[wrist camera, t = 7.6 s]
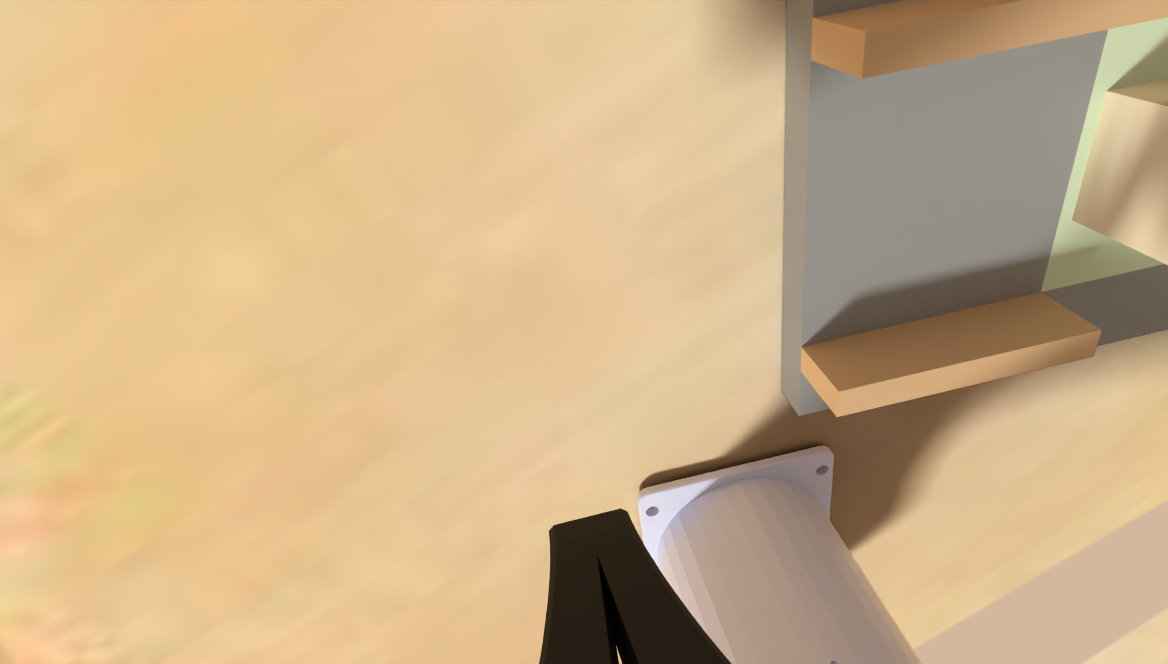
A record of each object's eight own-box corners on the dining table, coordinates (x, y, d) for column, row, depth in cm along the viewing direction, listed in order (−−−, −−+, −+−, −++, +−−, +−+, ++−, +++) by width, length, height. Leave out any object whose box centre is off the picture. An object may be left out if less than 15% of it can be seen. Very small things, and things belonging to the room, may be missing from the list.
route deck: (1266, 278, 26) (1388, 330, 23) (781, 391, 25) (833, 464, 21) (1490, -205, 18) (1729, -235, 15) (788, -76, 17) (873, -76, 13)
